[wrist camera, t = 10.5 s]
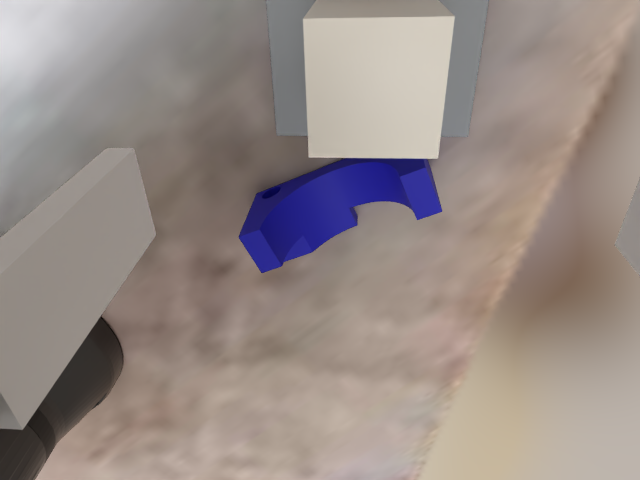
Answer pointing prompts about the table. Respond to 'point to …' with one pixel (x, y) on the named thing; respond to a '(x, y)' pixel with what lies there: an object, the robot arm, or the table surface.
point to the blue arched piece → (331, 205)
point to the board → (289, 64)
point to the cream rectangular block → (376, 77)
